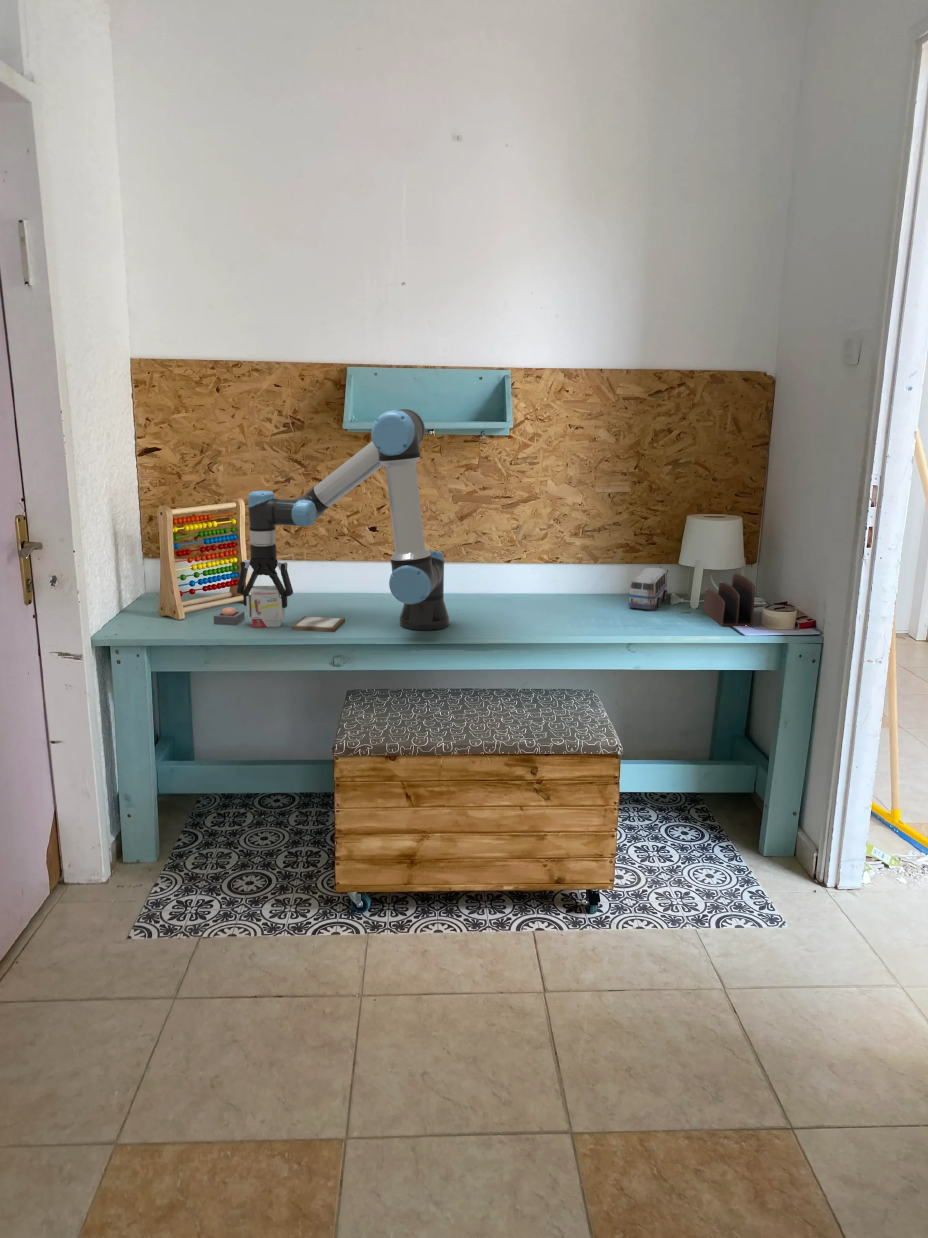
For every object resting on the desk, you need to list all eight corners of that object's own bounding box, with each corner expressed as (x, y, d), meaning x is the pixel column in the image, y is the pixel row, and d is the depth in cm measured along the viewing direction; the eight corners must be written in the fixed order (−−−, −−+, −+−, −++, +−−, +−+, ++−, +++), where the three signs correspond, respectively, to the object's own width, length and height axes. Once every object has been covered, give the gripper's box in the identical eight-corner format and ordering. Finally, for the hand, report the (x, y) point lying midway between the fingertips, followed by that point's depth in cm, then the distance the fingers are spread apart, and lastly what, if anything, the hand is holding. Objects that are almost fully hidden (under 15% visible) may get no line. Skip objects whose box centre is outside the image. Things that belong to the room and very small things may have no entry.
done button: (237, 615, 280) (237, 607, 280) (232, 618, 277) (232, 610, 276) (225, 614, 281) (225, 607, 280) (220, 617, 277) (220, 610, 276)
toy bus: (669, 595, 323) (671, 567, 320) (655, 613, 299) (657, 583, 296) (641, 592, 327) (643, 565, 324) (625, 609, 302) (627, 580, 300)
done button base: (244, 619, 282) (244, 611, 281) (236, 625, 275) (235, 617, 275) (223, 618, 283) (222, 610, 282) (213, 623, 276) (213, 615, 276)
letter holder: (732, 611, 303) (736, 569, 299) (752, 627, 283) (757, 583, 280) (702, 611, 302) (706, 569, 298) (721, 627, 283) (725, 583, 279)
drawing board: (345, 621, 281) (345, 617, 281) (334, 632, 270) (334, 628, 270) (304, 619, 283) (304, 615, 283) (291, 629, 272) (291, 625, 271)
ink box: (251, 628, 272) (249, 589, 269) (252, 623, 277) (250, 585, 274) (280, 627, 274) (279, 588, 271) (281, 622, 279) (279, 585, 276)
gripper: (303, 543, 271) (305, 615, 277) (232, 540, 274) (235, 612, 280) (295, 547, 264) (297, 622, 270) (222, 544, 267) (226, 618, 273)
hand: (266, 617), depth 275 cm, fingers closed on ink box, 9 cm apart
